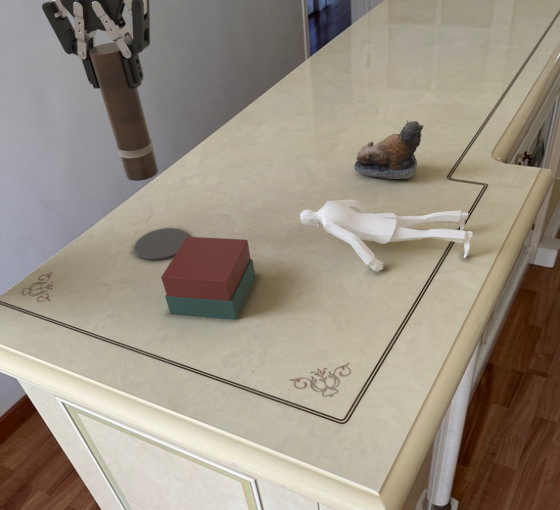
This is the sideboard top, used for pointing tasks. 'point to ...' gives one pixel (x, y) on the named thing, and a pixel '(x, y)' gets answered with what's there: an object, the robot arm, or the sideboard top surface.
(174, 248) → the coaster
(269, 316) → the sideboard top surface
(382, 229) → the male figurine
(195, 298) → the red and teal box
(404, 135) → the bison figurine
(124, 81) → the pepper mill
